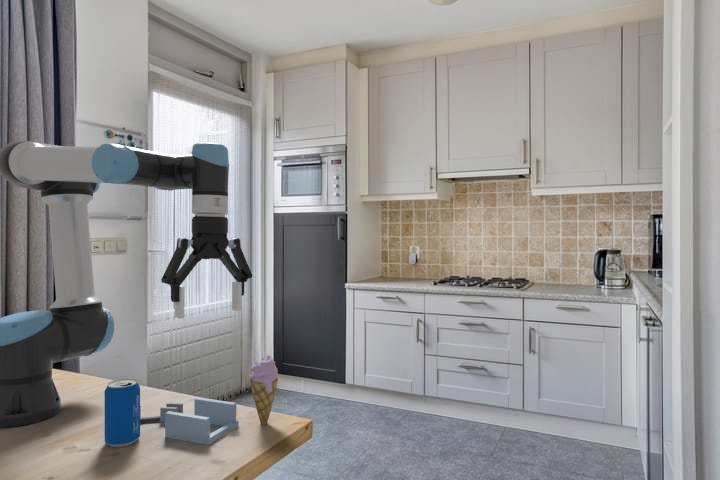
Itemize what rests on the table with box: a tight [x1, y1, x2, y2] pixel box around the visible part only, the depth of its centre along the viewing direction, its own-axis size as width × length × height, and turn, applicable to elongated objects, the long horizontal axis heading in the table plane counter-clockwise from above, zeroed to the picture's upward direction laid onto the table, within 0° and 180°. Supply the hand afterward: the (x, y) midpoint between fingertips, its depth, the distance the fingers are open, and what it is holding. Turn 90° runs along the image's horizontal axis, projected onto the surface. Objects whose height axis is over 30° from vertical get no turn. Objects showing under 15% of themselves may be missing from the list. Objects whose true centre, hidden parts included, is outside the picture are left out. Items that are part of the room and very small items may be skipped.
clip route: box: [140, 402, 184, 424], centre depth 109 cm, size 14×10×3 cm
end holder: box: [164, 397, 240, 446], centre depth 104 cm, size 11×10×5 cm
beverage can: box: [104, 378, 141, 448], centre depth 99 cm, size 6×6×12 cm
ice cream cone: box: [248, 354, 279, 426], centre depth 108 cm, size 7×6×15 cm
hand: (209, 314), depth 106 cm, fingers open, 13 cm apart
